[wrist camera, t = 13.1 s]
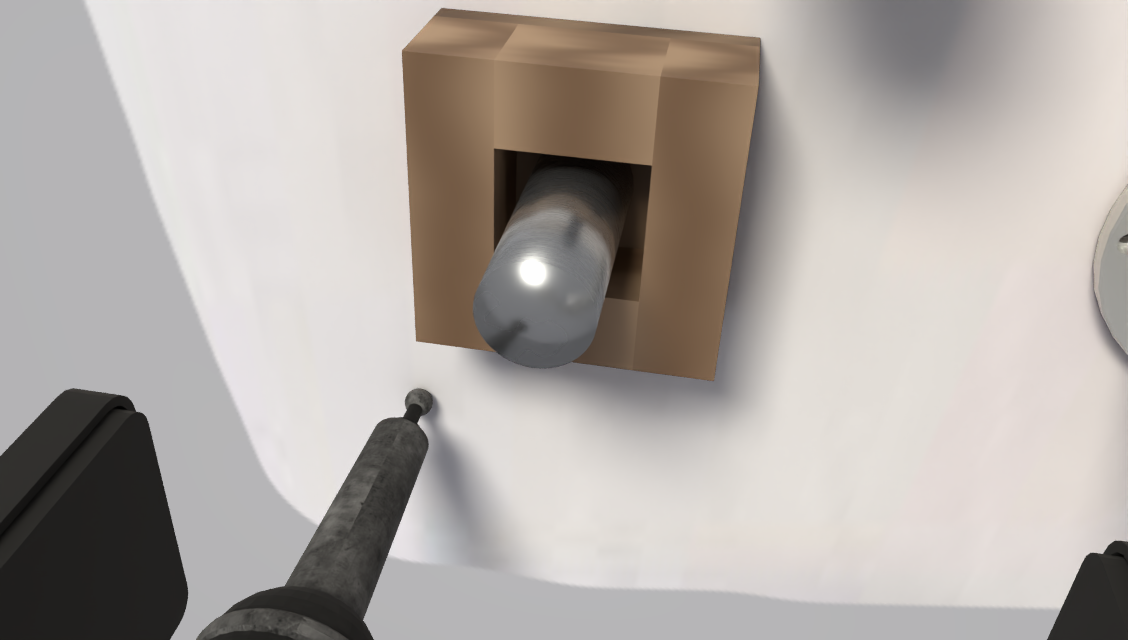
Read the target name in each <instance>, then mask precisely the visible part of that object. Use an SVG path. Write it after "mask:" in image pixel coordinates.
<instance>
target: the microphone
mask: <svg viewBox="0 0 1128 640" xmlns="http://www.w3.org/2000/svg"><path fill="white" fill-rule="evenodd" d="M432 404H433V400H432V397H431V395H430V393H429V392H427V391H426V390H424V389H414V390H412V391H410V392H409V393H408V395H407V396H406V399H405V406H406V409H407V411H406V413H405V415H404V417H399V418H388V419H384V420H382V421H381V422H379V423H378V424H377V426H376V427H375V429H374V431H373V432H372V434H371V436H370V438H369V439H368V441H367V443H366V445H365V446H364V448H363V450H362V452H361V453H360V455H359V457H358V459H357V460H356V462H355V464H354V466H353V467H352V469H351V471H350V473H349V474H348V476H347V478H346V480H345V481H344V483H343V485H342V487H341V488H340V490H339V492H338V494H337V495H336V497H335V499H334V501H333V502H332V504H331V506H330V508H329V509H328V511H327V513H326V515H325V516H324V518H323V520H322V522H321V523H320V525H319V527H318V529H317V530H316V532H315V534H314V536H313V538H312V539H311V541H310V543H309V544H308V546H307V548H306V550H305V552H304V553H303V555H302V557H301V558H300V560H299V562H298V564H297V566H296V567H295V569H294V571H293V572H292V574H291V576H290V578H289V579H288V581H287V583H286V585H285V586H284V587H278V588H274V589H269V590H266V591H261V592H258V593H256V594H254V595H252V596H249V597H248V598H246V599H244V600H242V601H240V602H238V603H236V604H235V605H233V606H232V607H231V608H230V609H229V610H228V611H227V612H226V613H224V614H223V615H222V616H220V617H219V618H217V619H215V620H214V621H213V622H211V623H210V624H209V625H208V626H207V627H206V628H205V629H204V630H203V631H202V632H201V633H200V634H199V636H198V637H197V639H196V640H374V639H373V637H372V636H371V633H370V631H369V630H368V628H367V626H366V624H365V623H364V621H363V618H364V616H365V613H366V611H367V608H368V605H369V603H370V600H371V598H372V595H373V592H374V590H375V587H376V584H377V582H378V579H379V576H380V574H381V571H382V569H383V566H384V563H385V561H386V558H387V556H388V553H389V550H390V548H391V545H392V542H393V540H394V537H395V535H396V532H397V529H398V527H399V524H400V521H401V519H402V516H403V513H404V511H405V508H406V506H407V503H408V500H409V498H410V495H411V492H412V490H413V487H414V485H415V482H416V479H417V477H418V474H419V471H420V469H421V466H422V463H423V461H424V458H425V456H426V453H427V450H428V445H429V444H428V439H427V436H426V434H425V433H424V431H423V430H422V429H421V428H420V427H419V425H418V424H417V423H418V421H419V418H420V416H422V415H425V414H427V413H428V412H429V411H430V409H431V408H432Z"/></svg>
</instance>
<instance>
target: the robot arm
mask: <svg viewBox="0 0 1128 640" xmlns="http://www.w3.org/2000/svg"><path fill="white" fill-rule="evenodd" d="M1127 234H1128V185H1127V186H1126V188H1125V189H1124V191H1123V192H1122V194H1121V195H1120V197H1119V198H1118V200H1117V201H1116V202H1115V204H1114V205H1113V207H1112V208H1111V210H1110V212H1109V215H1108V217H1107V219H1106V222H1105V224H1104V226H1103V228H1102V231H1101V233H1100V235H1099V238H1098V243H1097V248H1096V253H1095V258H1094V263H1093V270H1094V291H1095V294H1096V298H1097V301H1098V304H1099V308H1100V311H1101V314H1102V316H1103V318H1104V320H1105V322H1106V324H1107V326H1108V328H1109V330H1110V332H1111V334H1112V336H1113V337H1114V339H1115V340H1116V341H1117V342H1118V344H1119V345H1120V346H1121V347H1122V349H1123V350H1124V351H1125V352H1126V354H1127V355H1128V235H1127ZM1125 235H1127V236H1126V237H1123V236H1125ZM1121 237H1122V238H1121ZM187 599H188V587H187V582H186V578H185V574H184V570H183V566H182V561H181V557H180V553H179V548H178V544H177V540H176V536H175V532H174V528H173V524H172V519H171V515H170V511H169V507H168V502H167V498H166V494H165V491H164V486H163V482H162V477H161V473H160V469H159V465H158V461H157V456H156V452H155V448H154V444H153V440H152V436H151V431H150V427H149V423H148V421H147V418H146V416H145V415H144V414H143V413H140V412H136V410H135V408H134V405H133V403H132V402H131V400H130V399H129V398H128V397H125V396H121V395H115V394H108V393H102V392H95V391H88V390H81V389H74V388H73V389H69V390H66V391H64V392H63V393H62V394H60V395H59V396H58V397H57V398H56V399H55V400H54V401H53V402H52V403H51V404H50V405H49V406H48V407H47V408H46V409H45V410H44V411H43V412H42V413H41V414H40V416H39V417H38V418H37V419H36V420H35V421H34V422H33V423H32V424H31V425H30V426H29V427H28V428H27V429H26V430H25V431H24V432H23V433H22V434H21V435H20V436H19V437H18V438H17V440H15V442H14V443H13V444H12V445H11V446H10V447H9V448H8V449H7V450H6V451H5V452H4V453H3V454H2V455H1V456H0V640H170V638H171V636H172V635H173V634H174V632H175V630H176V629H177V627H178V625H179V624H180V621H181V620H182V618H183V615H184V612H185V609H186V605H187ZM1047 640H1128V542H1125V541H1114V542H1112V543H1111V544H1110V545H1108V547H1107V549H1106V550H1105V552H1104V553H1103V554H1098V553H1090V554H1089V555H1087V556H1086V558H1085V559H1084V561H1083V563H1082V565H1081V567H1080V569H1079V571H1078V574H1077V576H1076V578H1075V580H1074V582H1073V584H1072V587H1071V589H1070V591H1069V593H1068V595H1067V598H1066V600H1065V602H1064V604H1063V606H1062V608H1061V611H1060V613H1059V615H1058V617H1057V619H1056V622H1055V624H1054V626H1053V629H1052V630H1051V632H1050V635H1049V637H1048V639H1047Z"/></svg>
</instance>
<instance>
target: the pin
mask: <svg viewBox="0 0 1128 640" xmlns="http://www.w3.org/2000/svg"><path fill="white" fill-rule="evenodd" d="M632 193H633V174H632V171H631V168H630V165H629V163H624V162H615V161H605V160H596V159H587V158H578V157H569V156H560V155H551V154H542V153H541V155H540V156H539V158H538V160H537V162H536V164H535V166H534V169H533V171H532V173H531V175H530V177H529V179H528V181H527V184H526V186H525V188H524V190H523V192H522V194H521V196H520V199H519V201H518V203H517V205H516V207H515V209H514V211H513V213H512V216H511V218H510V220H509V222H508V224H507V226H506V228H505V231H504V233H503V235H502V237H501V239H500V241H499V243H498V246H497V248H496V250H495V252H494V254H493V256H492V258H491V260H490V263H489V265H488V267H487V269H486V271H485V273H484V275H483V278H482V280H481V282H480V284H479V286H478V288H477V291H476V293H475V296H474V301H473V316H474V320H475V324H476V326H477V329H478V331H479V333H480V334H481V336H482V338H483V339H484V340H485V342H486V343H487V344H488V345H489V346H490V347H491V348H492V349H493V350H494V351H496V352H497V353H498V354H500V355H501V356H502V357H504V358H506V359H508V360H510V361H512V362H514V363H517V364H520V365H523V366H527V367H532V368H552V367H558V366H561V365H565V364H567V363H570V362H572V361H573V360H575V359H577V358H578V357H579V356H581V355H582V354H583V353H584V352H585V351H586V350H587V349H588V347H589V346H590V344H591V342H592V340H593V338H594V336H595V332H596V329H597V325H598V321H599V317H600V314H601V310H602V306H603V302H604V299H605V295H606V291H607V287H608V283H609V280H610V276H611V272H612V268H613V265H614V261H615V257H616V253H617V249H618V246H619V242H620V238H621V234H622V231H623V227H624V223H625V219H626V215H627V212H628V208H629V204H630V200H631V196H632Z"/></svg>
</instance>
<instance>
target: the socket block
mask: <svg viewBox="0 0 1128 640" xmlns="http://www.w3.org/2000/svg"><path fill="white" fill-rule="evenodd" d="M402 63H403V83H404V103H405V124H406V144H407V165H408V185H409V205H410V226H411V246H412V266H413V287H414V307H415V328H416V341H418V342H426V343H433V344H441V345H448V346H456V347H463V348H470V349H478V350H485V351H493V352H496V351H494V350H493V349H492V348H491V347H490V346H489V345H488V344H487V343H486V342H485V340H484V339H483V338H482V336H481V334H480V333H479V331H478V329H477V326H476V324H475V320H474V316H473V301H474V296H475V293H476V291H477V288H478V286H479V284H480V282H481V280H482V278H483V275H484V273H485V271H486V269H487V267H488V265H489V263H490V260H491V258H492V256H493V254H494V252H495V250H496V248H497V246H498V243H499V241H500V239H501V237H502V235H503V233H504V231H505V228H506V226H507V224H508V222H509V220H510V218H511V216H512V213H513V211H514V209H515V207H516V205H517V203H518V201H519V199H520V196H521V194H522V192H523V190H524V188H525V186H526V184H527V181H528V179H529V177H530V175H531V173H532V171H533V169H534V166H535V164H536V162H537V160H538V158H539V156H540V155H541V153H542V154H551V155H560V156H569V157H578V158H587V159H596V160H605V161H615V162H624V163H629V165H630V168H631V171H632V174H633V193H632V196H631V200H630V204H629V208H628V212H627V215H626V219H625V223H624V227H623V231H622V234H621V238H620V242H619V246H618V249H617V253H616V257H615V261H614V265H613V268H612V272H611V276H610V280H609V283H608V287H607V291H606V295H605V299H604V302H603V306H602V310H601V314H600V317H599V321H598V325H597V329H596V332H595V336H594V338H593V340H592V342H591V344H590V346H589V347H588V349H587V350H586V351H585V352H584V353H583V354H582V355H581V356H579V357H578V358H577V359H575V360H573V361H572V362H575V363H583V364H590V365H597V366H605V367H612V368H620V369H627V370H635V371H642V372H650V373H657V374H665V375H672V376H680V377H687V378H695V379H702V380H710V381H714V377H715V370H716V364H717V357H718V351H719V344H720V337H721V331H722V324H723V318H724V311H725V305H726V298H727V291H728V285H729V278H730V272H731V265H732V258H733V252H734V245H735V239H736V232H737V225H738V219H739V212H740V206H741V199H742V193H743V186H744V179H745V173H746V166H747V160H748V153H749V146H750V140H751V133H752V127H753V120H754V114H755V107H756V100H757V94H758V87H759V63H760V38H756V37H745V36H734V35H724V34H713V33H702V32H692V31H681V30H670V29H659V28H649V27H638V26H627V25H616V24H606V23H595V22H584V21H574V20H563V19H552V18H541V17H531V16H520V15H509V14H499V13H488V12H477V11H466V10H456V9H445V8H441V9H440V10H439V11H438V13H437V14H436V15H435V16H434V17H433V18H432V19H431V20H430V21H429V22H428V23H427V24H426V25H425V27H424V28H423V29H422V30H421V31H420V32H419V33H418V34H417V35H416V36H415V37H414V38H413V39H412V41H411V42H410V43H409V44H408V45H407V46H406V47H405V48H404V49H403V50H402Z"/></svg>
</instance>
